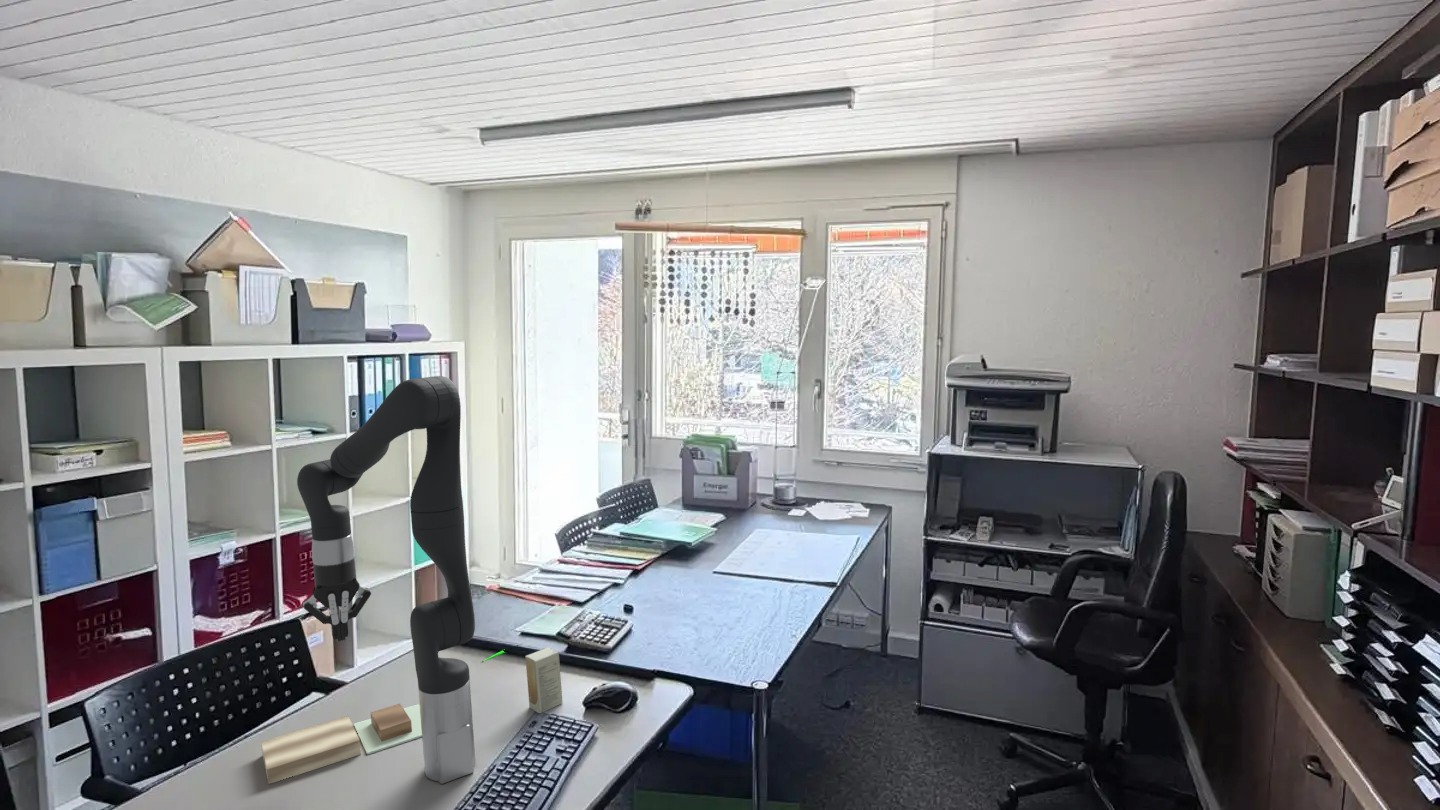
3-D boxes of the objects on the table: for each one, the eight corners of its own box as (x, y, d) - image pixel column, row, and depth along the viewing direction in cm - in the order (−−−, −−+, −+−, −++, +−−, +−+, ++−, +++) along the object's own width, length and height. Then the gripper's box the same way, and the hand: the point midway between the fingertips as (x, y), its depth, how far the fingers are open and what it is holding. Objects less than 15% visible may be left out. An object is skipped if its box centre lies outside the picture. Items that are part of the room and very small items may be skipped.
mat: (467, 721, 165) (467, 720, 165) (367, 754, 153) (367, 752, 153) (448, 696, 176) (448, 694, 176) (353, 725, 165) (353, 723, 165)
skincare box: (552, 697, 175) (549, 645, 173) (563, 703, 172) (560, 651, 170) (527, 707, 170) (524, 655, 169) (538, 714, 167) (534, 661, 166)
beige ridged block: (360, 754, 154) (359, 740, 153) (268, 784, 144) (267, 769, 144) (349, 728, 163) (348, 715, 163) (262, 755, 154) (260, 741, 154)
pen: (525, 644, 204) (525, 641, 204) (481, 664, 193) (480, 661, 193) (522, 643, 205) (522, 640, 205) (478, 663, 193) (478, 660, 193)
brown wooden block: (380, 730, 157) (381, 741, 157) (411, 720, 161) (412, 731, 161) (370, 712, 164) (371, 723, 165) (400, 703, 168) (400, 714, 168)
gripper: (299, 569, 148) (306, 655, 150) (372, 556, 156) (379, 637, 158) (294, 559, 154) (301, 641, 157) (365, 547, 162) (371, 625, 164)
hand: (340, 639), depth 157 cm, fingers closed
